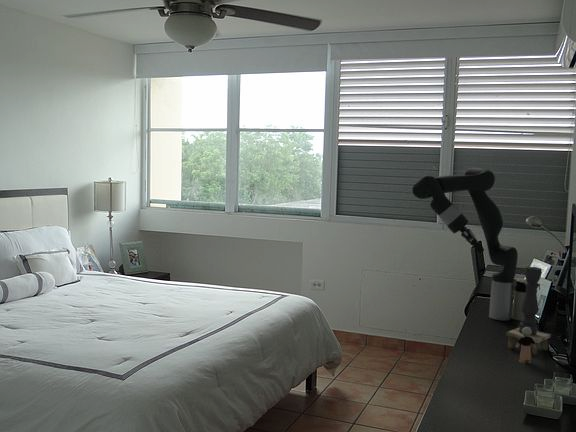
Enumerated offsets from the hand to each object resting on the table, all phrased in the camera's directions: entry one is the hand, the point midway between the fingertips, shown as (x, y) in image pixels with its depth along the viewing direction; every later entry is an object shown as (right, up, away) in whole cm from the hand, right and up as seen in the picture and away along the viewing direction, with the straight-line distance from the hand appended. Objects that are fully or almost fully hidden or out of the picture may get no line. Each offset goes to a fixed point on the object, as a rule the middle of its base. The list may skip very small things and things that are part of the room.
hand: (481, 250), depth 235 cm
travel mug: (+31, -34, +41) cm, 62 cm away
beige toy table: (+16, -37, -4) cm, 41 cm away
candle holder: (+16, -31, -4) cm, 36 cm away
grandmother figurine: (+8, -39, -20) cm, 44 cm away
